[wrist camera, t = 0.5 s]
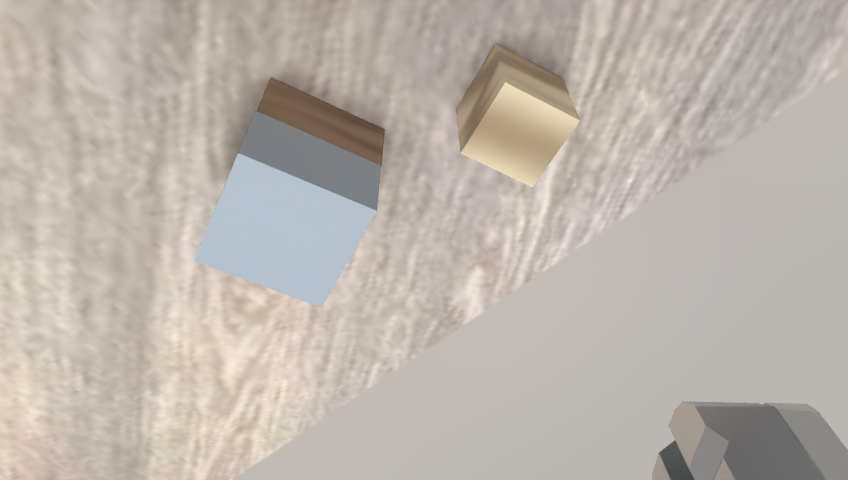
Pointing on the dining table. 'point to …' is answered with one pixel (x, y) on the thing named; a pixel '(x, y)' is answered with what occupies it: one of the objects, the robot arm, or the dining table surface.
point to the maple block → (515, 116)
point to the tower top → (290, 211)
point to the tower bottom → (322, 120)
